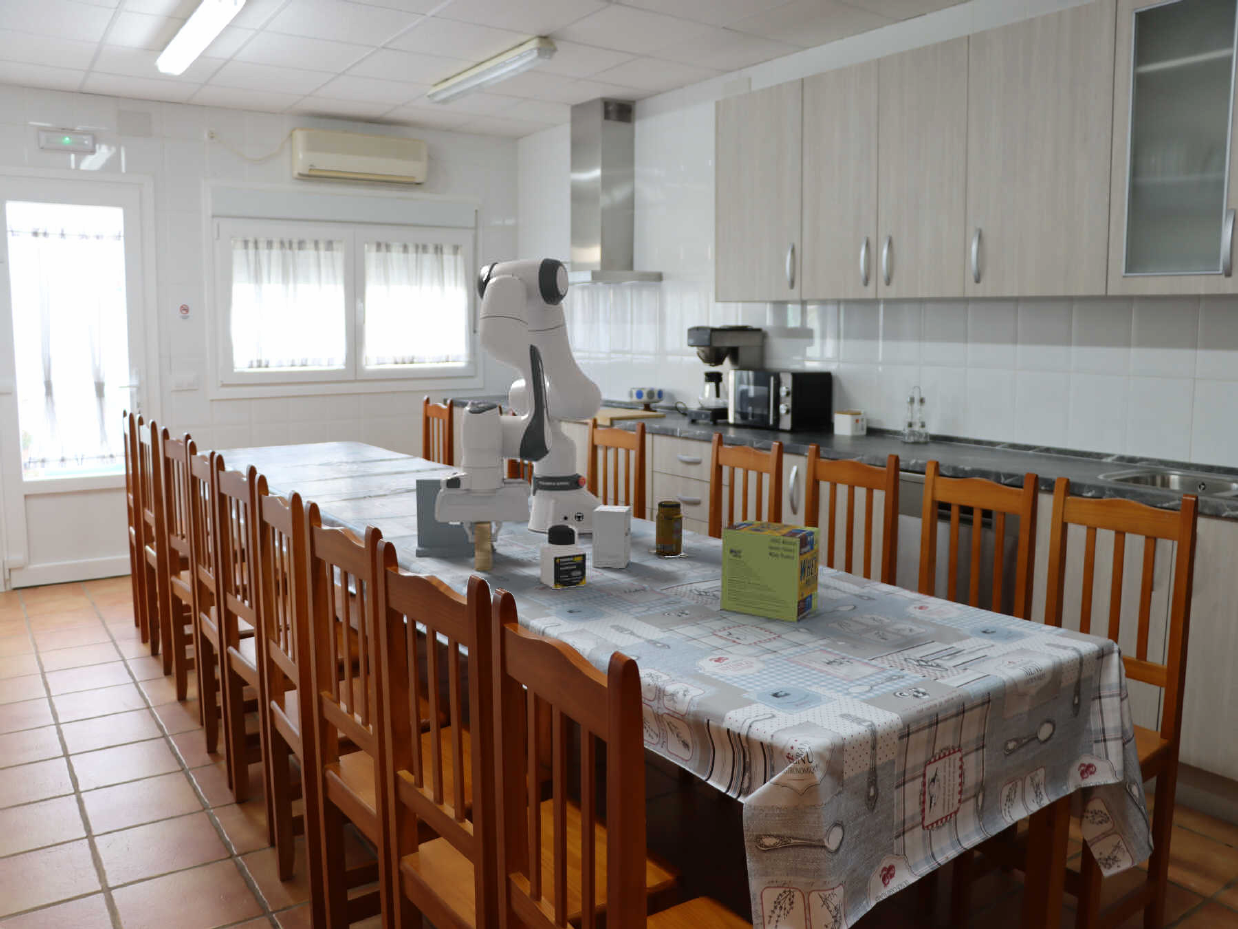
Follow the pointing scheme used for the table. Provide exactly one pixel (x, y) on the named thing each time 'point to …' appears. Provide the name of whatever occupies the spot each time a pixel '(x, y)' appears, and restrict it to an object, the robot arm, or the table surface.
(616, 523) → the supplement box
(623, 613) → the table surface
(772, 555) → the protein box
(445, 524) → the slate keyhole board
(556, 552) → the medicine bottle
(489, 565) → the hanger block
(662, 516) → the condiment
